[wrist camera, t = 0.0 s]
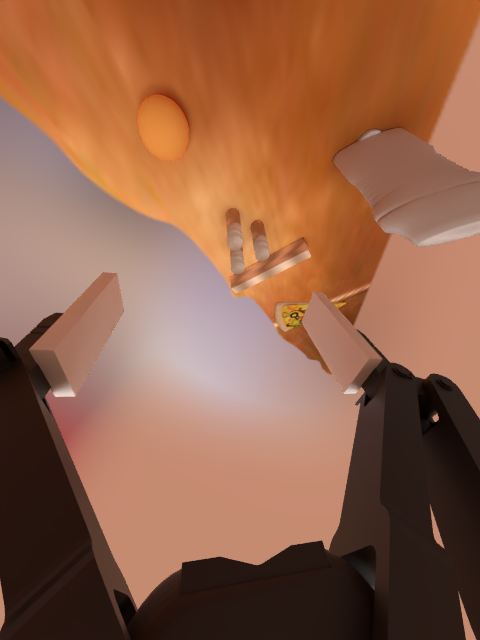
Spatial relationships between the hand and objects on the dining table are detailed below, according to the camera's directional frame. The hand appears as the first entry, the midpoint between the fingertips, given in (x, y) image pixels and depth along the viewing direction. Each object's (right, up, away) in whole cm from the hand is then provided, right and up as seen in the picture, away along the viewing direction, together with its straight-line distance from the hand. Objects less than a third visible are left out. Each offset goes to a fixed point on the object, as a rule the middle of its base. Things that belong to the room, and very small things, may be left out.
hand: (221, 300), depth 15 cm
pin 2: (+5, +16, +26) cm, 31 cm away
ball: (-8, +22, +11) cm, 26 cm away
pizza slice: (+22, +2, +50) cm, 54 cm away
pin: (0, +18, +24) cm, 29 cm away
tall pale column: (+20, +24, +17) cm, 36 cm away
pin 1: (0, +15, +28) cm, 31 cm away
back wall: (+7, +12, +33) cm, 36 cm away
